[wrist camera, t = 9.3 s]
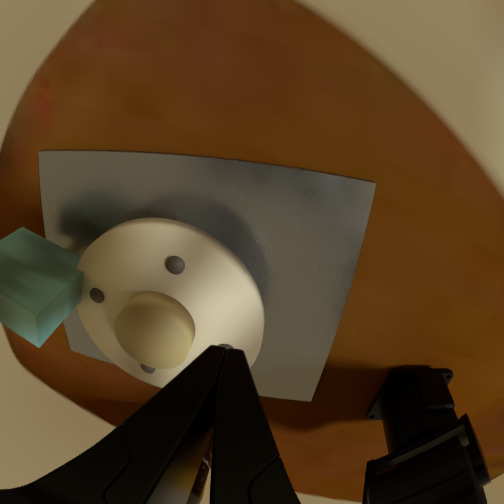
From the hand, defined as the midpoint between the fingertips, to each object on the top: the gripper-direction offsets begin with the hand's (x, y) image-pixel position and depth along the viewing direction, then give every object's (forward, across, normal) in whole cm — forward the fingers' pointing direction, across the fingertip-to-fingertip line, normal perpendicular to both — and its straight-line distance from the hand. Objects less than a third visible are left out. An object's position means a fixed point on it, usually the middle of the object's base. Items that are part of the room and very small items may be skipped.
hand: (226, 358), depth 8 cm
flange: (+9, +8, +5) cm, 13 cm away
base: (+12, +5, +6) cm, 14 cm away
